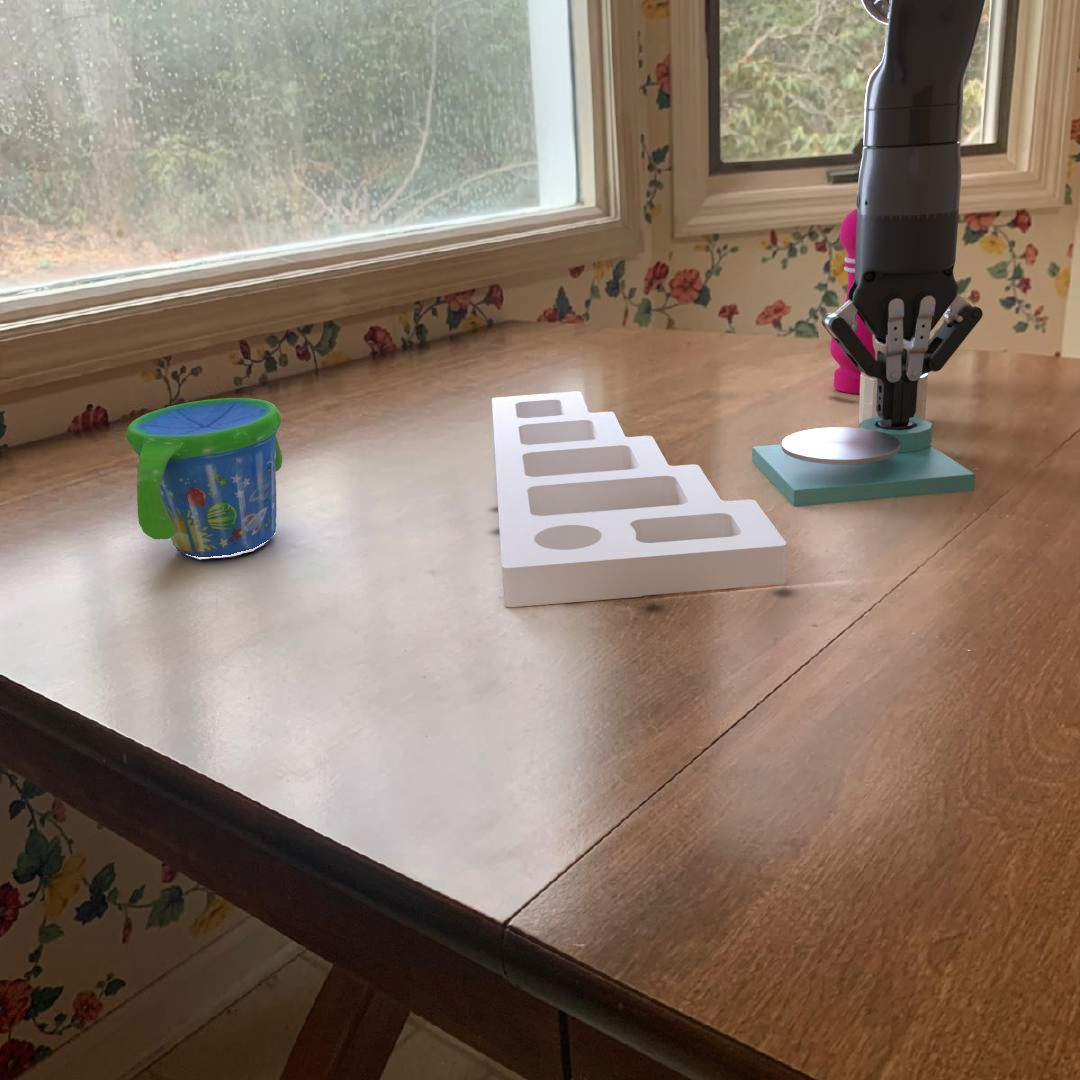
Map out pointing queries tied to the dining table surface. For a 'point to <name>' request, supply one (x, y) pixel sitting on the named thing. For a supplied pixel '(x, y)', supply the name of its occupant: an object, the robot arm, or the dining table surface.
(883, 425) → the tare button
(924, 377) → the beige cup
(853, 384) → the pepper mill
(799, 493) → the scale
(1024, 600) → the dining table surface
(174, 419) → the snack cup
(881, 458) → the weighing plate
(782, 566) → the holder
